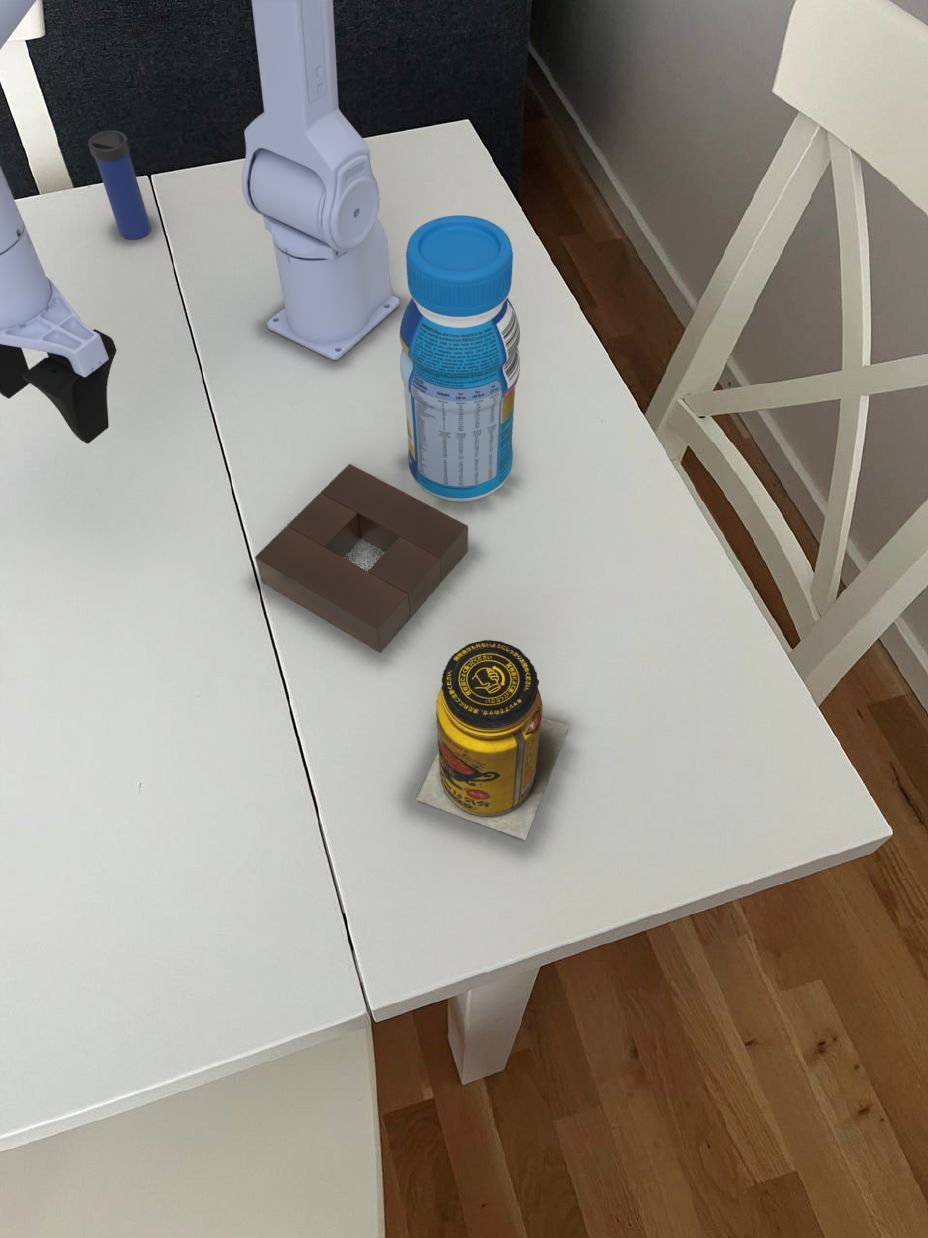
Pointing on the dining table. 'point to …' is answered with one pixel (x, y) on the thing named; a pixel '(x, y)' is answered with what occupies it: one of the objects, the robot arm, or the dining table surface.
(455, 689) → the condiment
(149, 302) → the dining table surface
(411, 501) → the holder
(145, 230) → the blue cylinder
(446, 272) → the beverage bottle
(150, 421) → the dining table surface
